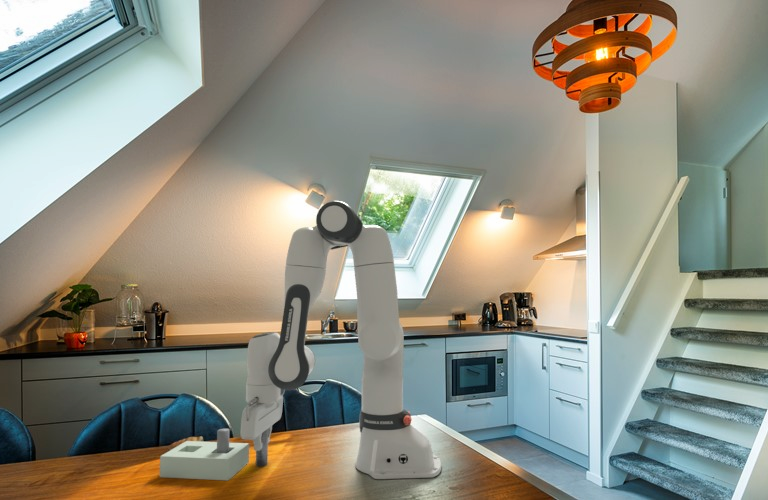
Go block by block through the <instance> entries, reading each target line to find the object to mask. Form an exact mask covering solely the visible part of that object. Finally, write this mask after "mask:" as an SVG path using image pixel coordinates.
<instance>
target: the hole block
mask: <svg viewBox="0 0 768 500" xmlns="http://www.w3.org/2000/svg"><path fill="white" fill-rule="evenodd" d="M216 434H217V435H216V441H203V442H202V441H186V442H184V443H182V444H180V445H179V446H177V447H175V448H174V449H172V450H170V451H169V450H168V451H167V452H165V453H164V454H163V453H162V454H161V455H160V456H159V478H167V479H168V478H169V479H170V478H171V479H173V478H174V479H190V480H214V481H230V480H231V479H232V478H233V477H234V476H235V475H236V474H237V473H239V472H240V471H241V470H242V469H243V468H244V467H245V466H247V465H248V464H249V462H250V443H248V442H245V443H244V442H230V428H219V429H218V430H217V431H216ZM246 464H247V465H246Z"/></svg>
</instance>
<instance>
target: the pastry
mask: <svg viewBox="0 0 768 500" xmlns="http://www.w3.org/2000/svg"><path fill="white" fill-rule="evenodd" d="M186 441H202V442H204V437H203V436H190V437H187V438H183V439H180V440H178V441H175V442H173V443H171V444H170V445H168V448H167V449H168V451H170V450H172V449H174V448H175V447H177V446H179V445H180V444H182V443H184V442H186Z"/></svg>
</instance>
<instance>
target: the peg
mask: <svg viewBox="0 0 768 500" xmlns="http://www.w3.org/2000/svg"><path fill="white" fill-rule="evenodd" d="M261 442H263V445H262V446H263V448H262V449H261V450H260V451H255V466H256V467H259V468H260V467H261V468H262V467H266V466H268V456H269V455H268V454H269V453H268V452H269V451H268V450H269V447H268V446H269V443H268V429H267V430H265V431H264V432H263V433H262V437H261Z"/></svg>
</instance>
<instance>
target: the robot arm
mask: <svg viewBox="0 0 768 500" xmlns="http://www.w3.org/2000/svg"><path fill="white" fill-rule="evenodd" d="M315 223H316V225H315V226H313V227H311V226H304V227H301V228H298V229H296V230H295V231H294V232H293V233H292V236H291V239H290V241H289V246H288V250H287V255H286V260H285V267H284V268H285V271H284V306H283V307H284V308H283V315H282V321H281V327H280V328H281V329H280V334H279V333H278V332H275V331H268V332H264V333H260V334H256V335H254V336H252V337H251V338H250V339H249V342H248V345H247V354H246V370H247V378H246V380H245V381H246V385H245V402H246V403H247V405H246V406H245V407H244V409H243V410H242V414H241V420H240V432H239V433H240V438H241V440H252V442H253V450H254V451H255V452H256V451H260V450H261V449H262V448H263V446H262V445H263V442H261V437H262V433H263V432H264V431H265V430H267V429H268V444H269V443H270V442H271V435H272V434H271V433H272V430H273V425H274V424H275V423H277V422H278V421H280V420H281V418H282V413H283V405H284V404H283V403H284V397H283V395H284V394H285V391H294V390H297V389H298V388H301V387H302V386H303V385H304V384H305V382H306V381H307V380H308V377H309V376H310V374H311V373H312V371H313V370H314V367H315V365H316V357H315V353H314V352H313V350H312V349H311V348H310V347H309V346H307V345H305V344H306V334H307V328H308V320H309V314H310V311H311V309H312V306H313V305H314V303H315V302H316V301H317V299H318V298H319V296H320V295H321V293H322V290H323V288H324V283H325V278H326V271H327V263H328V262H327V261H328V257H329V256H328V255H329V252H330V250H332V251H333V250H337V249H340V248H341V249H342V248H346V247H349V249H350V251H351V254H352V259H353V269H354V280H355V288H356V306H357V307H356V308H357V309H356V314H357V316H356V318H357V319H356V320H357V339H358V340H357V341H358V346H359V348H360V351H361V353H362V354H363V365H362V376H361V409H360V411H359V418H358V419H359V432H360V437H359V438H360V439H359V447H358V453H357V457H356V461H355V464H354V466H355V468H356V469H357V470H358V471H360V472H362V473H364V474H367V475H369V476H370V477H371V478H372V479H376V480H387V479H388V480H390V479H393V480H395V479H417V478H419V479H422V478H424V479H425V478H435V477H436V476H438V475H439V474H440V473H441V472H442V461H441V458H439V457H438V455H435V454H433V449H432V444H431V442H430V439H428V437H427V436H426V435H424V434H423V433H422V432H420V431H419V430H418V429H417V428H416V427H414V426H413V425H412V424H411V423H412V415H411V412H410V410H408V411H407V410H405V409H404V398H403V397H404V389H403V388H404V385H403V384H404V347H405V346H404V341H405V339H404V336H405V334H404V328H403V326H402V324H401V322H400V313H399V312H400V311H399V301H398V286H397V278H396V277H397V276H396V269H395V260H394V255H393V249H392V244H391V241H390V237H389V235H388V233H387V230H386V229H385V228H384V227H382V226H379V225H375V224H368V225H365V224H364V223H363V221H362V219H360V217H359V216H358V214H357V212H356V211H355V210H354V209H353V207H352V206H350V205H349V204H348V203H347V202H344V201H341V200H340V201H339V200H331V201H328V202H326V203H324V204H323V205H322V206H321V207H320V208H319V210H318V212H317V214H316V218H315Z"/></svg>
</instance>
